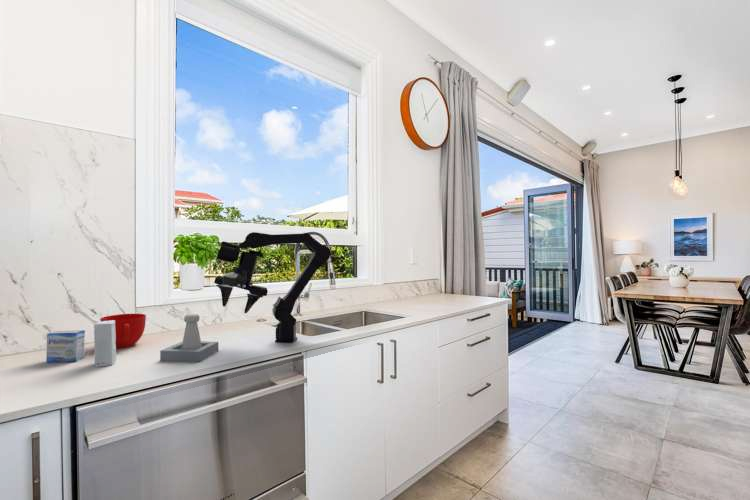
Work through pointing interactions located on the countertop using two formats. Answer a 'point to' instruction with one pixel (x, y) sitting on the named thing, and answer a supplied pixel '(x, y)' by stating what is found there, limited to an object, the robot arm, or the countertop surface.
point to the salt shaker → (191, 333)
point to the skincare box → (105, 343)
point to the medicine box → (65, 346)
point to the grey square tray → (188, 352)
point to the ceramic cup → (127, 328)
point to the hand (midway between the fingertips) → (234, 309)
